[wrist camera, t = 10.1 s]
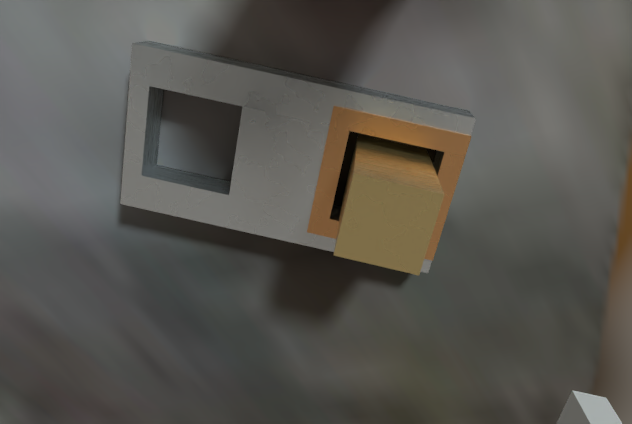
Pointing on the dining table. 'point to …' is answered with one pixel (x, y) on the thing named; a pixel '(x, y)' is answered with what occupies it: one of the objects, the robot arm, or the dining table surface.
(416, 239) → the tan rectangular block
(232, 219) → the grey shape sorter board
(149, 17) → the dining table surface
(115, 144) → the dining table surface
